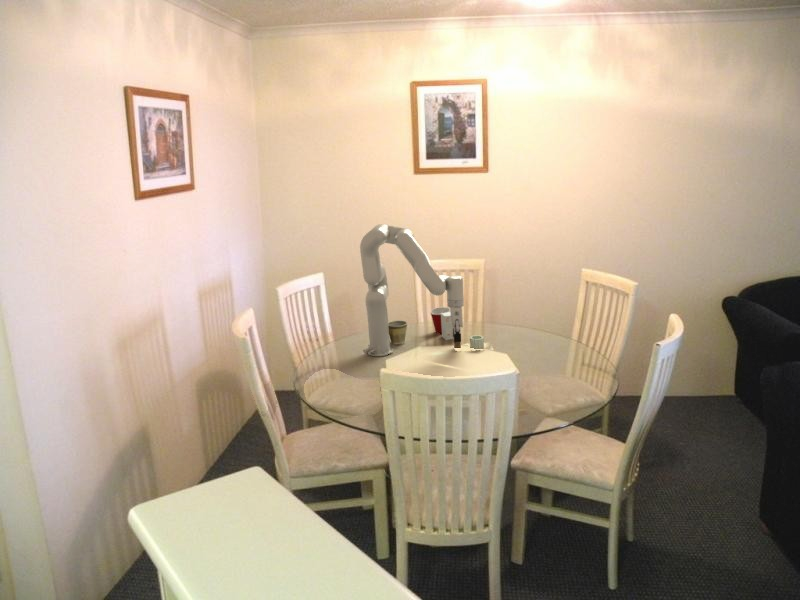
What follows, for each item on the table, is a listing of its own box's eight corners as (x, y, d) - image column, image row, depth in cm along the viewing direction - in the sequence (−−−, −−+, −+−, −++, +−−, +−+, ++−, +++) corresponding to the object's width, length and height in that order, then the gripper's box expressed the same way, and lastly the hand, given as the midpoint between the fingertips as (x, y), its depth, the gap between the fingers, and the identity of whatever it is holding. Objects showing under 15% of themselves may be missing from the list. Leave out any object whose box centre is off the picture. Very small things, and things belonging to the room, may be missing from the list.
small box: (457, 335, 326) (455, 311, 323) (461, 339, 320) (460, 314, 317) (441, 338, 324) (440, 313, 321) (445, 341, 318) (444, 316, 315)
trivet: (454, 354, 299) (454, 352, 299) (452, 345, 311) (452, 344, 311) (493, 351, 299) (493, 350, 299) (490, 343, 310) (490, 342, 310)
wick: (458, 350, 302) (457, 325, 299) (452, 349, 304) (451, 324, 301) (461, 348, 304) (460, 323, 301) (456, 347, 306) (455, 322, 303)
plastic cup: (426, 333, 334) (424, 310, 331) (440, 328, 341) (439, 306, 338) (441, 336, 326) (440, 313, 323) (455, 331, 333) (455, 309, 330)
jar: (479, 350, 299) (478, 340, 298) (467, 348, 303) (466, 338, 302) (486, 346, 304) (486, 336, 303) (475, 344, 308) (474, 334, 307)
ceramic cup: (406, 345, 315) (404, 326, 313) (386, 345, 317) (384, 326, 315) (410, 337, 327) (409, 318, 325) (391, 337, 329) (390, 318, 327)
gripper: (465, 306, 290) (466, 344, 294) (462, 297, 307) (463, 333, 311) (448, 307, 290) (450, 345, 294) (446, 298, 307) (447, 334, 311)
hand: (457, 339), depth 303 cm, fingers open, 7 cm apart
